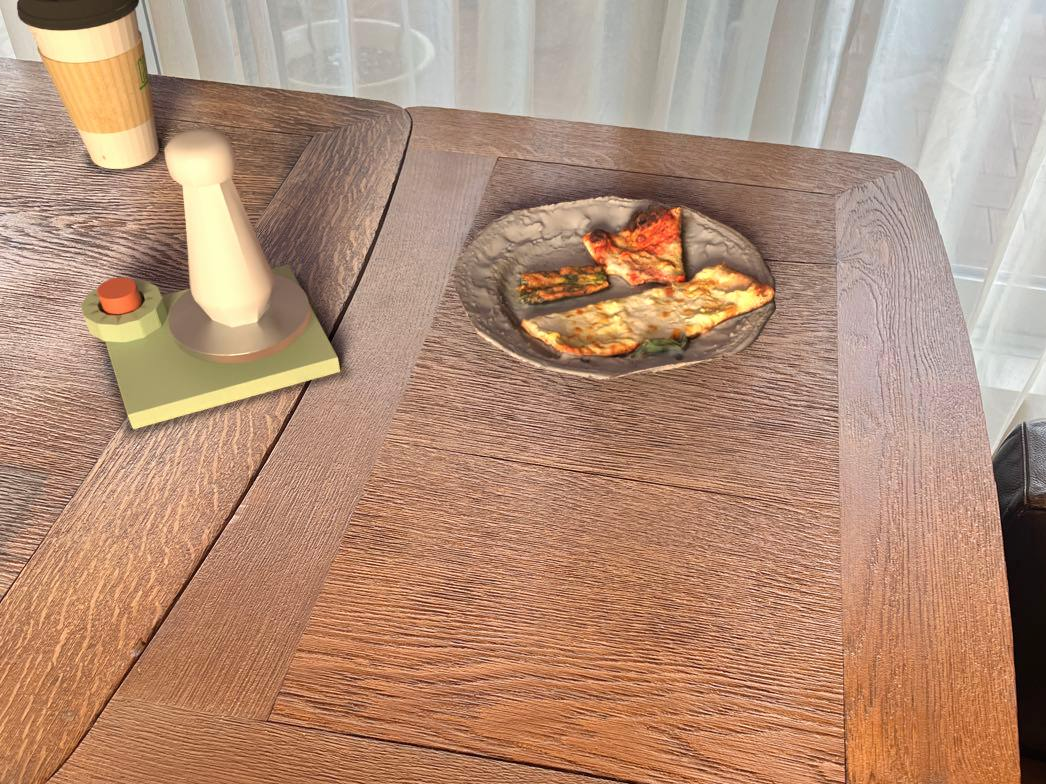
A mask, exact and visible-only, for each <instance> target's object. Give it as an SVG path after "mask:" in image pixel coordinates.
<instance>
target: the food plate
mask: <svg viewBox="0 0 1046 784" xmlns="http://www.w3.org/2000/svg"><path fill="white" fill-rule="evenodd" d="M453 275H454V278H453V284H454V287H455V291H456V294H457V298H458V300H459V302H460V306H462V308H463V312H464V314H465V315H466V318H467V319H468V321H469V323H470V325H471V327H472V328H473V330H474V332H475V333H476V335H478V337H480V338H481V339H483V340H485V342H488V344H490V345H491V346H494V347H497V348H498V350H500V351H503V352H504V353H506V354H508V355H509V356H511V357H513V358H516V359H517V360H519V361H520V362H522V363H523V362H525V363H526V364H529V365H531V366H533V367H537V368H540V369H544V370H547V371H551V372H555V373H558V374H559V373H560V374H565V375H569V376H574V377H580V378H589V379H596V380H601V381H604V380H605V381H608V380H611V379H616V378H626V377H628V376H629V377H631V376H633V375H637V374H638V375H640V374H647V373H650V372H651V373H653V374H655V373H657V372H663V371H667V370H672V369H678V368H680V367H684V366H685V367H686V366H692V365H694V366H695V365H697V364H701V363H703V362H712V361H714V360H719V361H721V360H722V359H728V358H729V357H731V356H732V355H733V356H734V355H737V354H738V353H741V352H744V351H745V350H746V349H747V348H750V347H751V346H752V345H753V344H754V343H755V342H756V341H757V340H759V337H760V336H761V334H762V332H763V331H764V328H765V327H766V326H767V324H768V322H769V320H771V317H772V316H773V315H774V312H776V311H777V304H776V300H775V298H776V297H775V296H776V290H777V289H776V288H777V287H776V286H777V285H776V278H775V277H774V276H773V275H772V270H771V268H770V266H769V264H767V262H766V260H765V258H764V256H763V254H762V252H761V251H760V249H759V248H758V246H756V244H754V243H752V241H751V240H750V239H748V238H747V237H746V236H745V235H744V234H743V233H741V232H740V231H739V230H737V229H736V228H734V227H732V226H730V225H728V224H726V223H724V222H722V221H721V220H718V219H716V218H713V217H712V216H710V215H708V214H706V213H703V212H702V211H700V210H698V209H695V208H692V207H690V206H687V205H684V204H675V203H672V202H670V203H668V202H665V203H661V202H660V201H654V199H650V198H641V199H633V198H625V197H620V196H618V195H617V196H615V195H611V196H607V195H606V196H603V197H602V196H599V197H596V198H593V197H590V198H588V199H587V198H586V199H578V200H575V201H574V200H572V201H563V202H558V203H556V204H555V203H552V204H549V205H548V204H546V205H541V206H536V207H529V209H525V208H524V209H519V210H512V211H511V212H509V213H507V214H504V215H502V216H500V217H499V218H494V219H493V220H492V221H490V222H489V223H487V224H486V225H485V226H484V227H483V228H481V229H480V230H479V231H478V232H477V233H476V235H475V236H474V237H472V238H471V240H470V241H469V242H468V243H467V245H466V246H465V247H464V249H463V250H462V251H461V253H460V254H459V257H457V258H456V262H455V266H454V273H453Z"/></svg>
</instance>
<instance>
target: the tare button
mask: <svg viewBox="0 0 1046 784" xmlns="http://www.w3.org/2000/svg"><path fill="white" fill-rule="evenodd" d="M132 279H133V278H129V277H121V276H120V277H113V278H110V279H107V280H105V281H103V282H102V283H101V284H100V285H99V286H98V287H97V288H98V289H97V288H96V289H97V294H98V297H99V299H100V302H101V305H102V307H103V310H104V311H105V313H107V314H108V315H117V316H119V315H123V314H127V313H131V312H134V311H135V310H137V309H138V308H140V307H141V305H142V299H141V296H140V294H139V291H138V288H137V285H136V283H135V282H134V281H133V280H132Z"/></svg>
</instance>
